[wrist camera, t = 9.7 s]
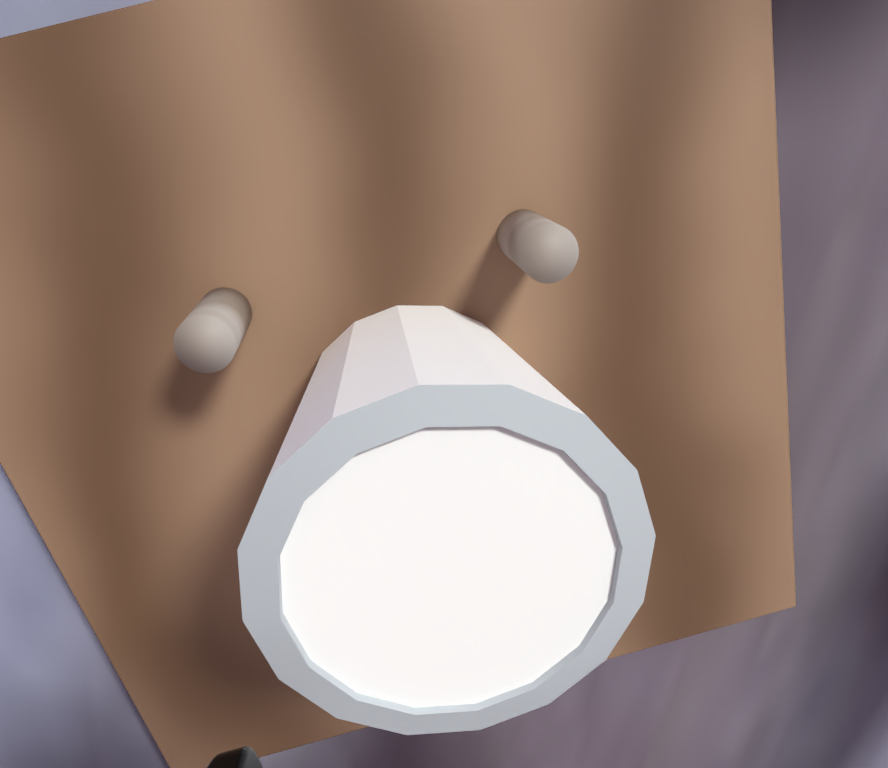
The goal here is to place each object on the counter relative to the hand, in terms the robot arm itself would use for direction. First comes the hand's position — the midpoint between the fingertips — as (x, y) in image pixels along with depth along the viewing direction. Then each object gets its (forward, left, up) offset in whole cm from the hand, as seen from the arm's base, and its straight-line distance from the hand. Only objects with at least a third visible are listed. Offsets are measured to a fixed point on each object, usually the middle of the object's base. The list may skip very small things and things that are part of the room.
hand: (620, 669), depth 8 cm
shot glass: (+2, 0, -10) cm, 10 cm away
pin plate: (+2, 0, -11) cm, 11 cm away
